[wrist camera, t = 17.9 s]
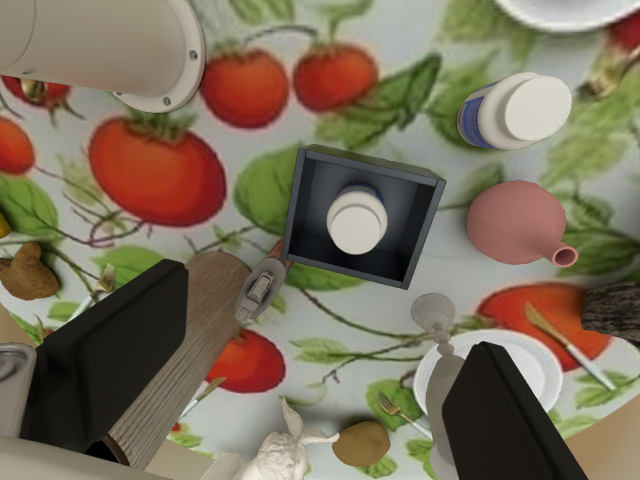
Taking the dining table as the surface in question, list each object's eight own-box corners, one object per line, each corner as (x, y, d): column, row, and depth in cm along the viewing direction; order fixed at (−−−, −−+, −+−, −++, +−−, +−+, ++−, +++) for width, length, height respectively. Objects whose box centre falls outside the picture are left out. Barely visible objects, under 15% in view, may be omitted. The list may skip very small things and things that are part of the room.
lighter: (276, 290, 39) (247, 340, 30) (253, 276, 39) (217, 322, 29) (307, 243, 36) (286, 282, 27) (284, 227, 36) (254, 262, 27)
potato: (402, 433, 41) (345, 423, 40) (391, 494, 40) (333, 485, 39) (384, 410, 47) (335, 401, 47) (374, 461, 46) (325, 453, 46)
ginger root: (50, 239, 41) (22, 251, 38) (71, 297, 46) (47, 313, 42) (-13, 229, 42) (-46, 240, 39) (13, 287, 46) (-14, 301, 43)
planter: (172, 280, 41) (-36, 440, 20) (216, 234, 38) (20, 370, 16) (226, 329, 42) (85, 525, 21) (272, 289, 39) (159, 478, 18)
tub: (297, 233, 36) (279, 258, 29) (313, 143, 32) (298, 147, 25) (399, 258, 35) (407, 290, 28) (429, 169, 31) (447, 180, 24)
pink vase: (526, 248, 32) (609, 310, 21) (452, 244, 33) (493, 301, 22) (545, 175, 30) (650, 203, 18) (463, 174, 31) (517, 199, 20)
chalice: (476, 304, 35) (572, 460, 19) (443, 344, 38) (501, 513, 21) (421, 276, 35) (468, 409, 19) (391, 318, 38) (409, 468, 21)
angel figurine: (331, 386, 47) (357, 479, 36) (273, 455, 53) (281, 549, 43) (249, 373, 41) (252, 479, 30) (196, 453, 48) (184, 561, 37)
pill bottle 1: (379, 231, 34) (383, 269, 24) (332, 225, 34) (318, 259, 25) (388, 182, 32) (395, 204, 23) (337, 176, 32) (325, 195, 23)
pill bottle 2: (483, 158, 30) (532, 170, 21) (443, 122, 29) (475, 119, 20) (529, 110, 28) (606, 101, 19) (487, 72, 27) (545, 43, 18)
